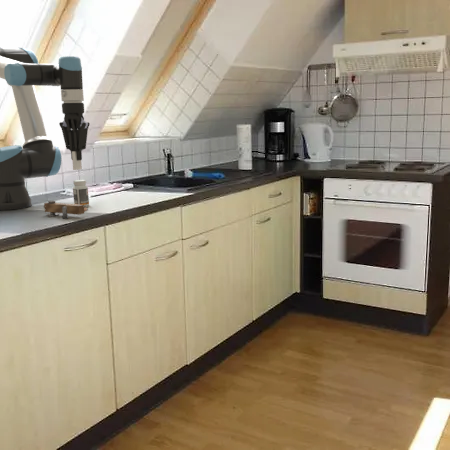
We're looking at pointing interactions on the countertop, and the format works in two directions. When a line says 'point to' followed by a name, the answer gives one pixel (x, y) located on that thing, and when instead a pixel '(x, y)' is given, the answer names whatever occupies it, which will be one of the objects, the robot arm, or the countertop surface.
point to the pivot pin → (53, 214)
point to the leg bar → (57, 207)
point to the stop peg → (64, 212)
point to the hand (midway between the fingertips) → (77, 169)
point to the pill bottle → (80, 193)
